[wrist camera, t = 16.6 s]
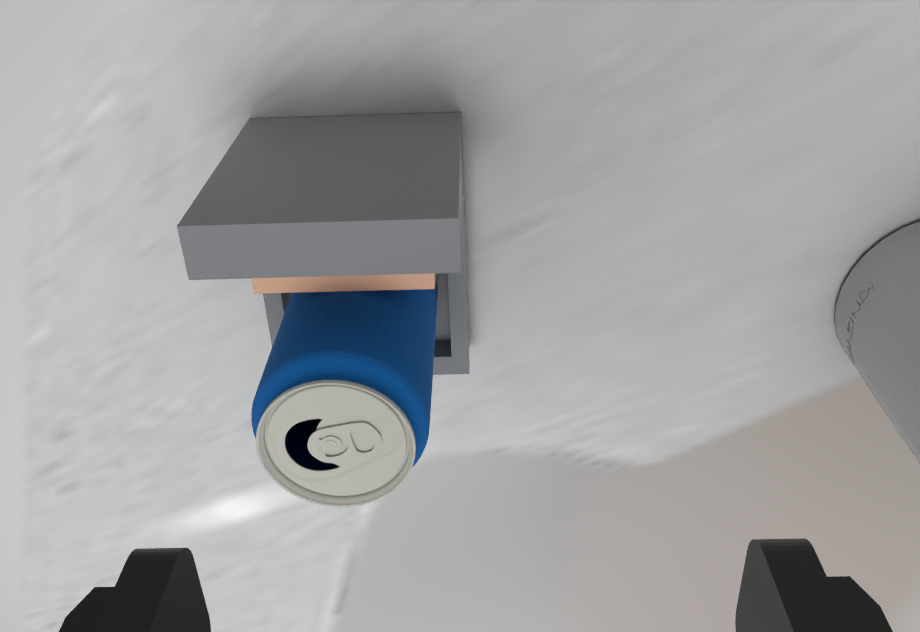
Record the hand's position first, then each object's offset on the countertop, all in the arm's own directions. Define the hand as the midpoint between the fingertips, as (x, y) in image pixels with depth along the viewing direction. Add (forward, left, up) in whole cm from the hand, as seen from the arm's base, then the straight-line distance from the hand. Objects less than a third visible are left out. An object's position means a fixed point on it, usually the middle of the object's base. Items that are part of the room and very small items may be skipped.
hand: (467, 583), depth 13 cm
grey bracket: (+5, +8, -28) cm, 30 cm away
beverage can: (+5, +10, -27) cm, 29 cm away
